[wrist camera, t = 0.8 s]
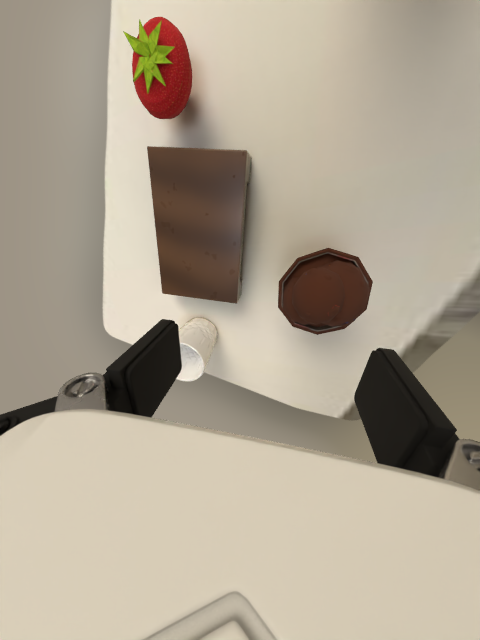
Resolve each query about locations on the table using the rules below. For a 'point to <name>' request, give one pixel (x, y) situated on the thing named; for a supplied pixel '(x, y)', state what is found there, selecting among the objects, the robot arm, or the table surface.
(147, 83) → the strawberry
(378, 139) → the table surface
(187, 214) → the panel
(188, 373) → the white cup
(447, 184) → the table surface
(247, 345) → the table surface
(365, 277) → the ice cream bowl
